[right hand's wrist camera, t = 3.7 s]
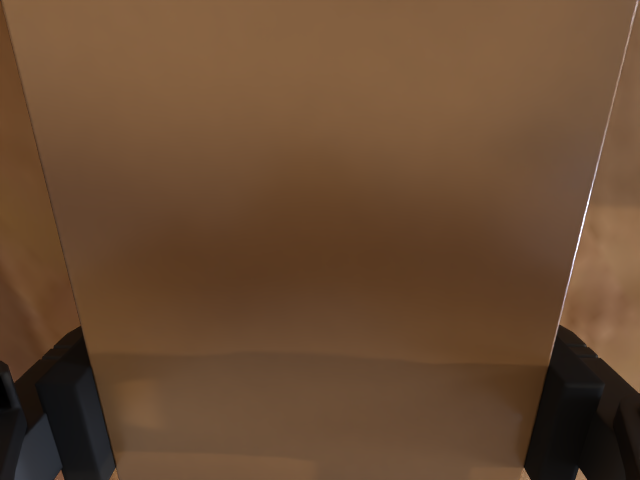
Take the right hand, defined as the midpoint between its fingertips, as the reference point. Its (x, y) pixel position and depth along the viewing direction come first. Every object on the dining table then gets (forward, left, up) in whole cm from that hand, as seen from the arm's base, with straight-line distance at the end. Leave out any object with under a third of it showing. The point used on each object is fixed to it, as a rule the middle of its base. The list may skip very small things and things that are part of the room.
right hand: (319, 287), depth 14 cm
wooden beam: (+2, -20, 0) cm, 20 cm away
